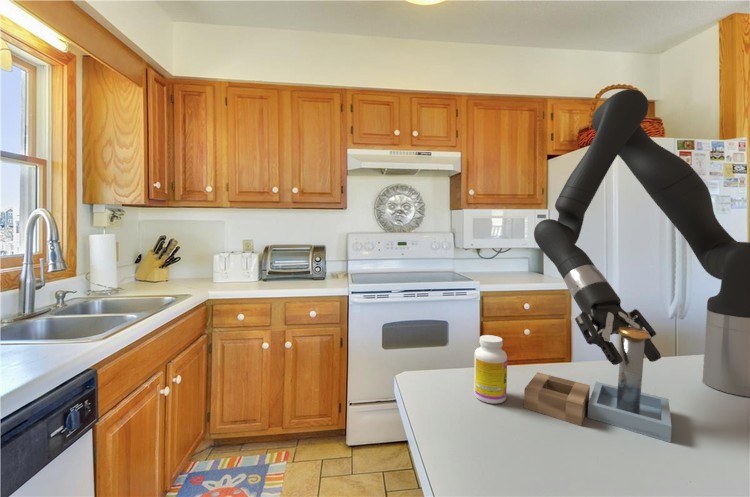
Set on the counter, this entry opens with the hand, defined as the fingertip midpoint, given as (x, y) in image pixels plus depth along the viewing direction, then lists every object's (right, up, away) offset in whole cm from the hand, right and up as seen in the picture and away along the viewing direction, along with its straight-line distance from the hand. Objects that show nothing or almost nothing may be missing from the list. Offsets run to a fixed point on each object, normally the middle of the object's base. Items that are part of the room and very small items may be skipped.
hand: (637, 361), depth 64 cm
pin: (0, -10, +2) cm, 10 cm away
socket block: (-12, -11, +5) cm, 17 cm away
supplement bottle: (-25, -11, +9) cm, 29 cm away
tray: (0, -11, +2) cm, 11 cm away
